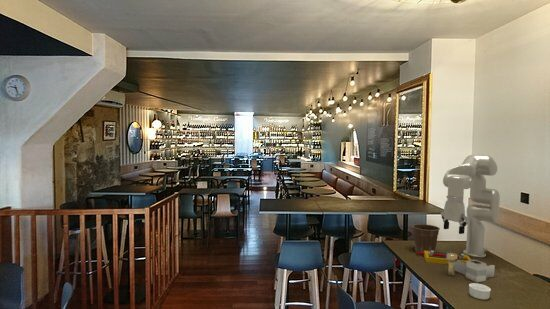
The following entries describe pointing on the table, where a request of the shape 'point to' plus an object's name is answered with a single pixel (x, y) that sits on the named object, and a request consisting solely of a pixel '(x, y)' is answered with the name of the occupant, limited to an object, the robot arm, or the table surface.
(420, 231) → the plant pot
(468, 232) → the robot arm
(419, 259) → the table surface
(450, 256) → the wooden bell shape
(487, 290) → the ramekin
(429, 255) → the mechanical clamp
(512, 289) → the table surface
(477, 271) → the white corner connector
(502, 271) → the table surface
